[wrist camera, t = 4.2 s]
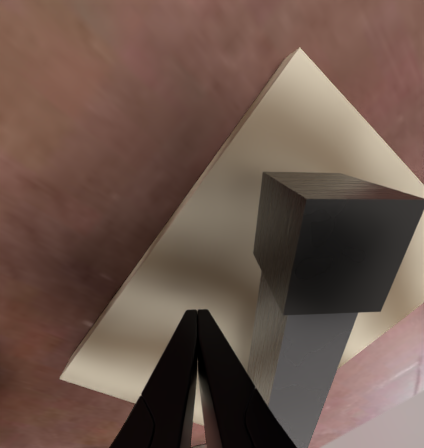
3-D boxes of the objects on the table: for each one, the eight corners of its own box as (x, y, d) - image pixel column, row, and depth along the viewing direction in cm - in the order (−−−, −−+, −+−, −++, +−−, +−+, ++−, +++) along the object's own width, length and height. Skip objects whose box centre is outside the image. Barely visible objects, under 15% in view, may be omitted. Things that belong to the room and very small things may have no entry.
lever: (263, 416, 18) (294, 541, 12) (213, 420, 17) (222, 551, 12) (317, 161, 10) (459, 199, 5) (228, 159, 10) (271, 198, 4)
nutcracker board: (242, 418, 20) (255, 491, 16) (70, 356, 16) (27, 438, 12) (458, 242, 14) (564, 287, 10) (284, 58, 10) (351, 8, 6)
